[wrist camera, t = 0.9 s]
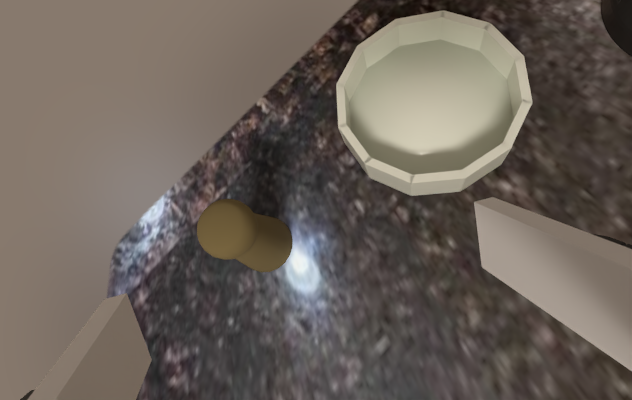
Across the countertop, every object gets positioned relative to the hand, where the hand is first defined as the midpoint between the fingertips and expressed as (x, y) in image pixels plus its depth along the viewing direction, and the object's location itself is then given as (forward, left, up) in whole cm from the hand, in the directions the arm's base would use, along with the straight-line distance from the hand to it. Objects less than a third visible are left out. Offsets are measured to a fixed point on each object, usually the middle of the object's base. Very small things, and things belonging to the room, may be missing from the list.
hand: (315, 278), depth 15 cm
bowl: (-15, -13, -26) cm, 33 cm away
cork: (+7, -11, -26) cm, 29 cm away
